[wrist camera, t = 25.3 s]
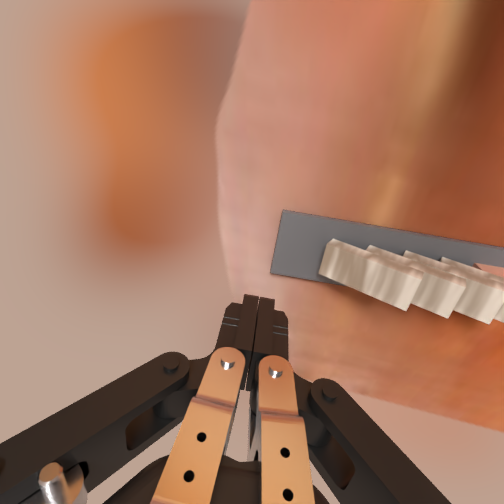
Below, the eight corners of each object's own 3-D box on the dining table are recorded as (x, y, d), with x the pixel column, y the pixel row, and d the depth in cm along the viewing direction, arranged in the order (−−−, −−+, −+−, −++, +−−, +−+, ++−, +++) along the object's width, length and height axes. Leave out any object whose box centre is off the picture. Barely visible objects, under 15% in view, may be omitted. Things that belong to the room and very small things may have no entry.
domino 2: (354, 279, 43) (447, 318, 38) (365, 250, 41) (465, 287, 36) (359, 273, 45) (448, 309, 40) (369, 244, 43) (466, 279, 38)
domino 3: (390, 285, 43) (489, 324, 38) (402, 256, 41) (509, 293, 36) (393, 278, 45) (488, 315, 40) (405, 250, 43) (507, 284, 38)
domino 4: (426, 291, 43) (528, 332, 38) (440, 262, 41) (552, 302, 36) (427, 284, 45) (526, 322, 40) (442, 256, 43) (548, 293, 38)
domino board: (282, 209, 43) (282, 212, 42) (511, 248, 42) (515, 252, 41) (270, 269, 48) (270, 272, 47) (475, 305, 47) (479, 309, 46)
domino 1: (318, 273, 43) (406, 311, 38) (326, 243, 41) (421, 279, 36) (324, 267, 45) (409, 302, 40) (333, 238, 43) (424, 272, 38)
